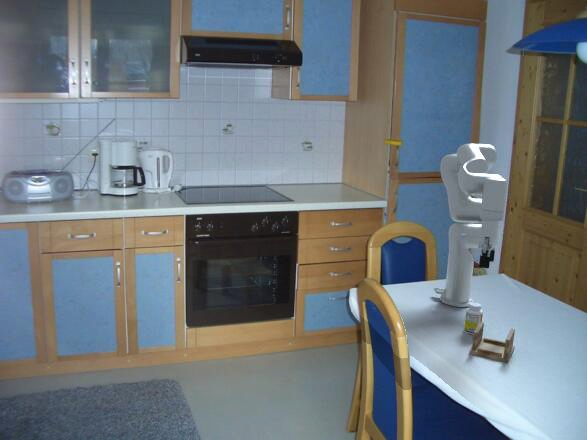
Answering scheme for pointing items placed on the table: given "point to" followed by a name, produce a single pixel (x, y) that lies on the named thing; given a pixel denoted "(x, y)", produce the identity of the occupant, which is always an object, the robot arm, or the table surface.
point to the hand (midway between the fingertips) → (486, 264)
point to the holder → (492, 345)
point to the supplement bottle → (473, 317)
